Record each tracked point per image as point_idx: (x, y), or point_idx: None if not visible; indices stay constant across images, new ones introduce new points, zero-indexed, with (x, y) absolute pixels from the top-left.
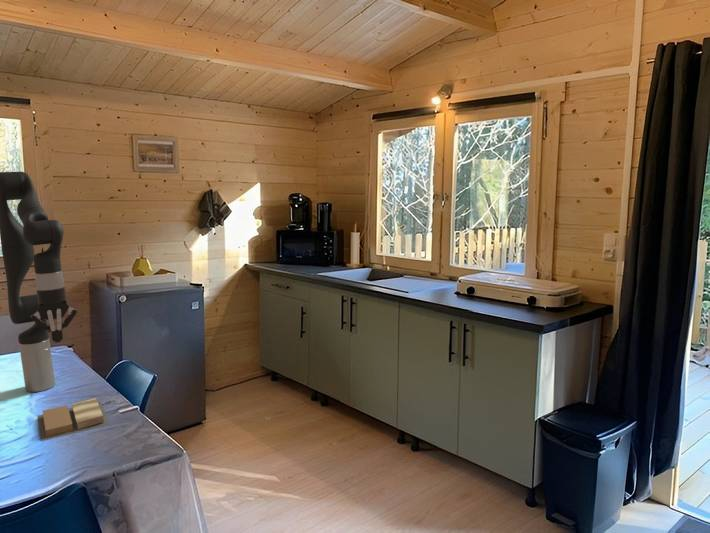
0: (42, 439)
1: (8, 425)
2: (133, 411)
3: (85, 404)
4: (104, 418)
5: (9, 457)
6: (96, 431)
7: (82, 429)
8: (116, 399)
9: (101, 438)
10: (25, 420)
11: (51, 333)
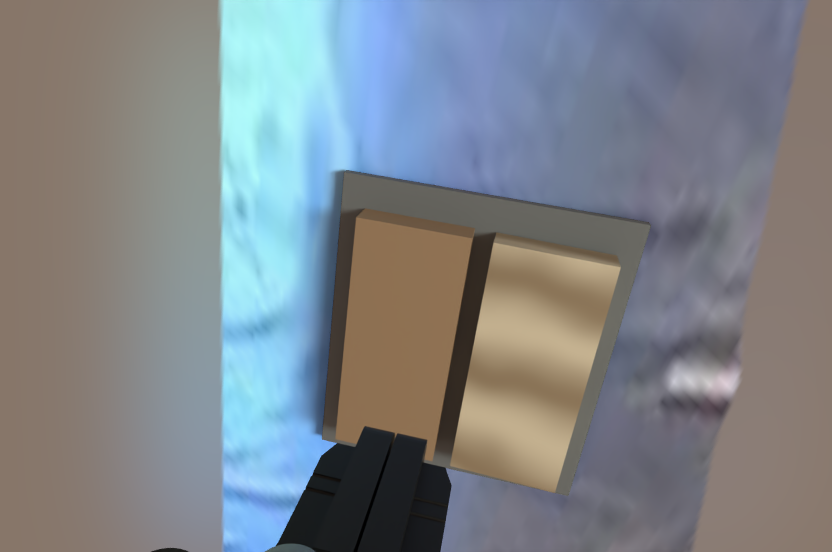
0: (329, 431)
1: (229, 155)
2: (713, 426)
3: (544, 310)
4: (573, 432)
5: (230, 448)
6: (510, 483)
7: None
8: (740, 220)
9: (503, 542)
10: (297, 152)
11: (290, 532)
